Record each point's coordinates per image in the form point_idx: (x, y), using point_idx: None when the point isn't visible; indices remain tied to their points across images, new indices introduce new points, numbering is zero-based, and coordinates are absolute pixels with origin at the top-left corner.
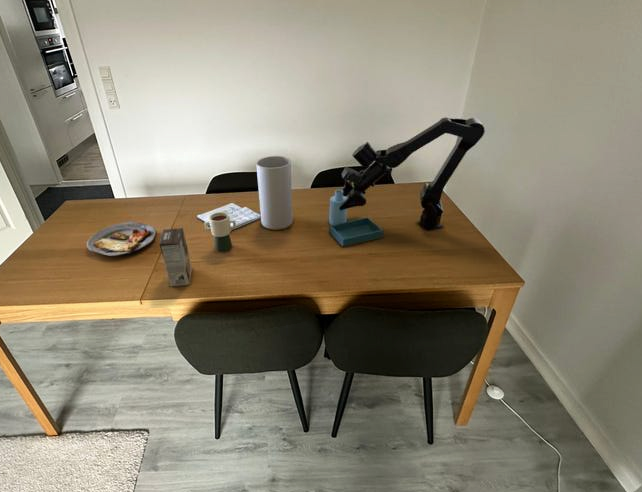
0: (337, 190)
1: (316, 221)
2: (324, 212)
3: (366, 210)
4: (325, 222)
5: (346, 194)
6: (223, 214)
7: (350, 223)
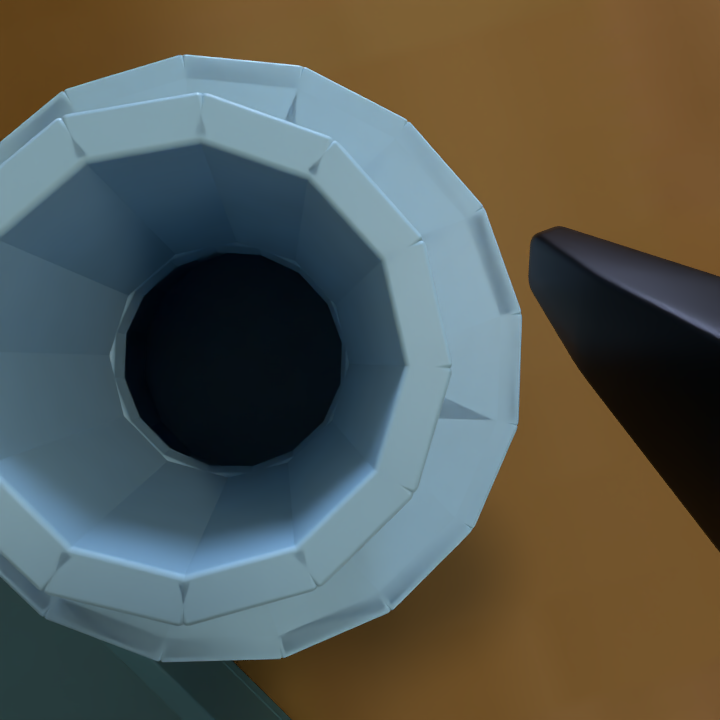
0: (330, 217)
1: None
2: (487, 97)
3: (713, 640)
4: None
5: (689, 478)
6: None
7: None
